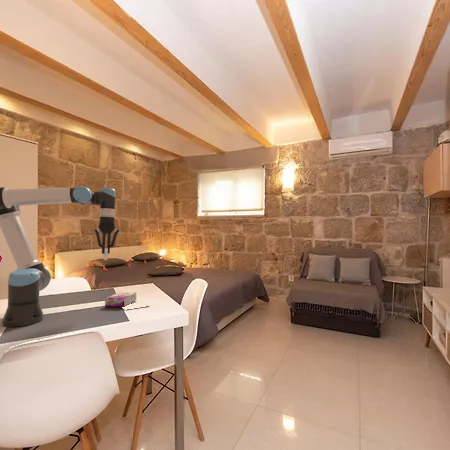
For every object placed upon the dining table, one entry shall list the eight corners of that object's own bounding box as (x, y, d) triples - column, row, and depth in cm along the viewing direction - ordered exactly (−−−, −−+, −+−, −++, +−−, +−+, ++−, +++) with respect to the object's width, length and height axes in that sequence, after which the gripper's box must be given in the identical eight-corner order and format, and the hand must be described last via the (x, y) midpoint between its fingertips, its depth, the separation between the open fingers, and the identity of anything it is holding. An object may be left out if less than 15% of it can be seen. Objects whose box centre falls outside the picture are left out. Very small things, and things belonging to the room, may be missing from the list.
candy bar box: (104, 297, 149) (118, 292, 166) (104, 307, 149) (118, 300, 165) (124, 297, 148) (136, 292, 165) (124, 307, 148) (136, 300, 164)
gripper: (95, 215, 143) (93, 260, 142) (121, 217, 150) (119, 260, 149) (93, 216, 149) (91, 259, 148) (118, 217, 156) (116, 258, 155)
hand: (105, 259), depth 149 cm, fingers closed
